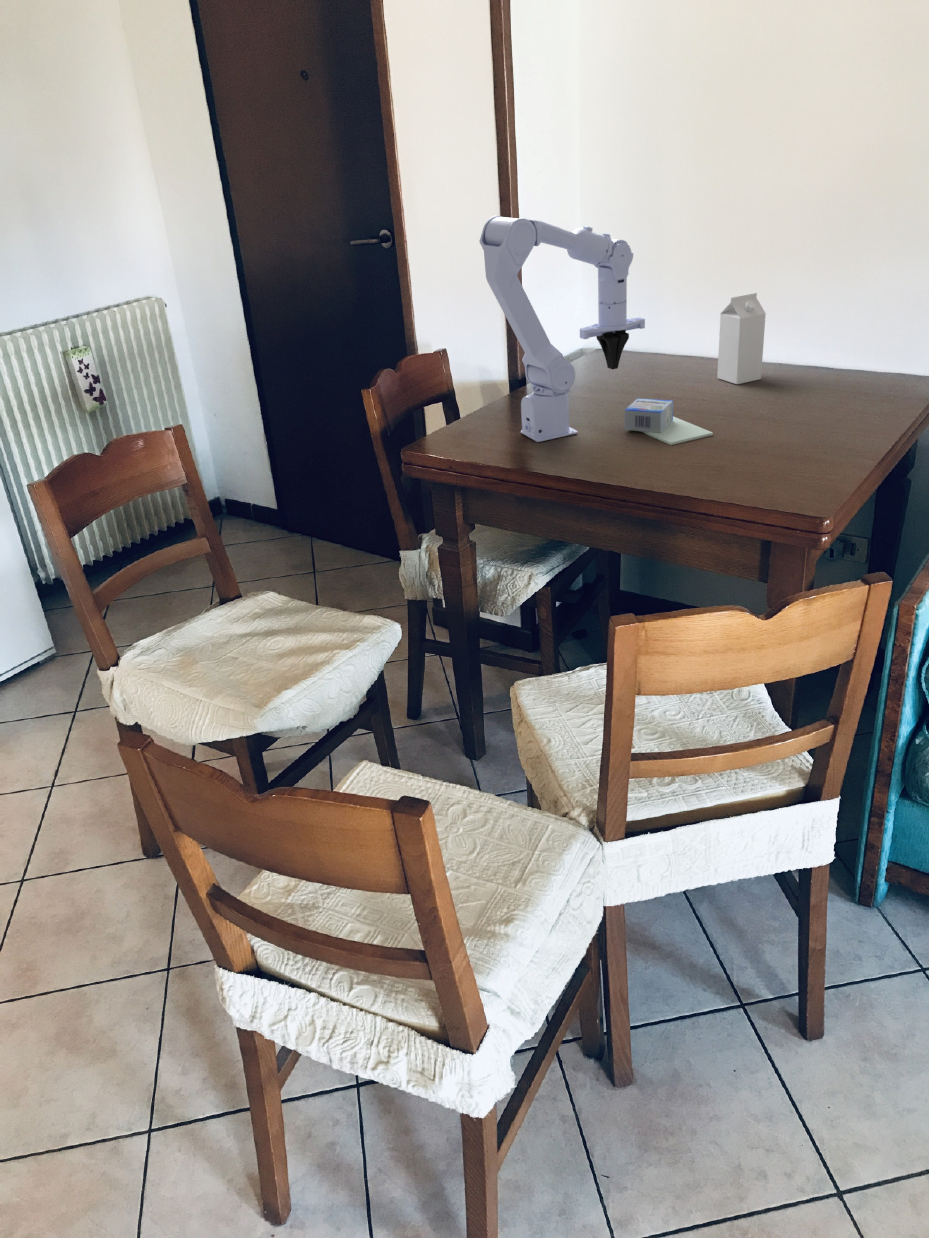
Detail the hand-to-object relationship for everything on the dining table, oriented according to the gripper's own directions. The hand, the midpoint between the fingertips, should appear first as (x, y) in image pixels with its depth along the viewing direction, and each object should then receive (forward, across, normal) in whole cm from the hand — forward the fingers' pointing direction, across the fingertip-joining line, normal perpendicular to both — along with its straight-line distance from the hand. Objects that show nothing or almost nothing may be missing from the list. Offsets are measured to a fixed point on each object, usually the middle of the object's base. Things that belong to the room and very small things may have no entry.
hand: (612, 368), depth 201 cm
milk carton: (+11, +38, +6) cm, 40 cm away
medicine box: (+8, -2, -14) cm, 16 cm away
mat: (+10, +4, -16) cm, 19 cm away
